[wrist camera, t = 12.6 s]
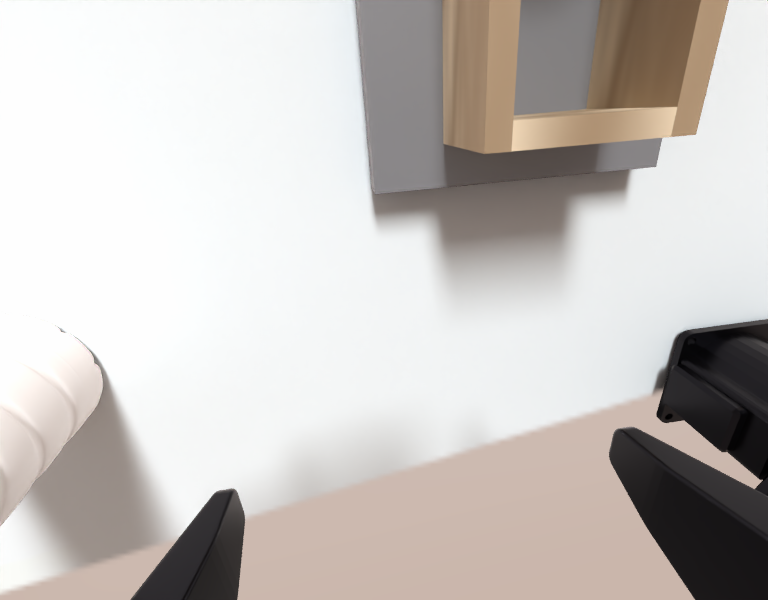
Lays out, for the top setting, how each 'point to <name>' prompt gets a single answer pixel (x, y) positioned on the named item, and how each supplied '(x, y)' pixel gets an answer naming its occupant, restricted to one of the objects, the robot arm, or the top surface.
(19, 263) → the top surface
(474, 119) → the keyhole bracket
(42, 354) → the water bottle
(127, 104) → the top surface
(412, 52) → the grey plate with ball
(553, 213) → the top surface
